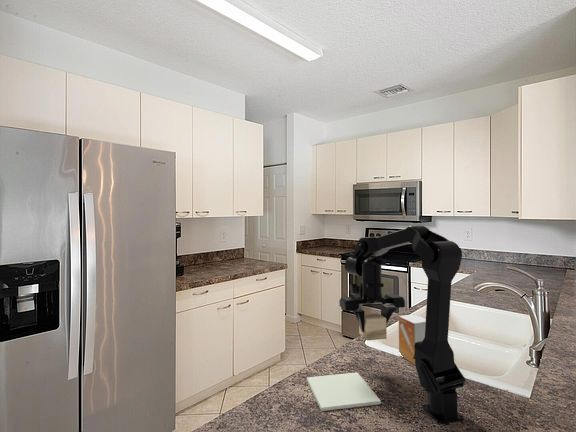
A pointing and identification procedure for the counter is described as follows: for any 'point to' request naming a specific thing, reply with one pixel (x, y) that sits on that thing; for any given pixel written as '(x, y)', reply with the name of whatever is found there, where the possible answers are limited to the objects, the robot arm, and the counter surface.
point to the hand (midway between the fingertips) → (372, 330)
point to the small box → (410, 334)
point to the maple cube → (374, 327)
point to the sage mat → (342, 391)
